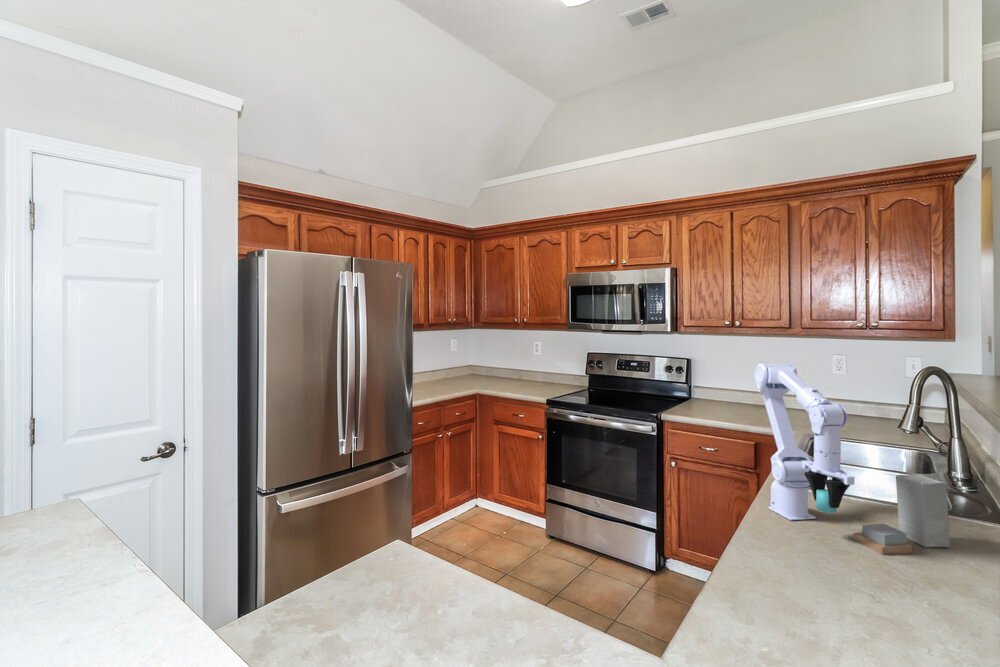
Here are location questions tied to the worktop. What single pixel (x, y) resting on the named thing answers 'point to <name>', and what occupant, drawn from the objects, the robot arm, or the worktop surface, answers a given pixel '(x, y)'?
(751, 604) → the worktop surface
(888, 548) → the walnut base slab
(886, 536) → the slate top slab
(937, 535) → the skincare box
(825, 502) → the teal cylinder
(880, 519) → the worktop surface
